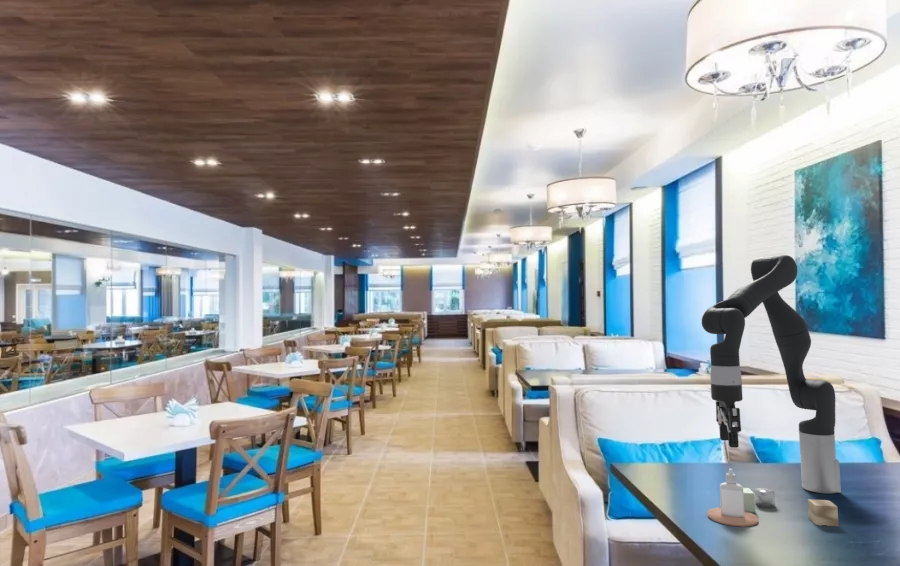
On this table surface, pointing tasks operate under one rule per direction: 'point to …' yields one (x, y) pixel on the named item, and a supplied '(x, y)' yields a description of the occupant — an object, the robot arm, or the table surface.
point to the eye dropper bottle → (731, 497)
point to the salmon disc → (733, 518)
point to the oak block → (823, 512)
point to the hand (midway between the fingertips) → (729, 443)
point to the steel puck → (764, 497)
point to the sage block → (749, 500)
